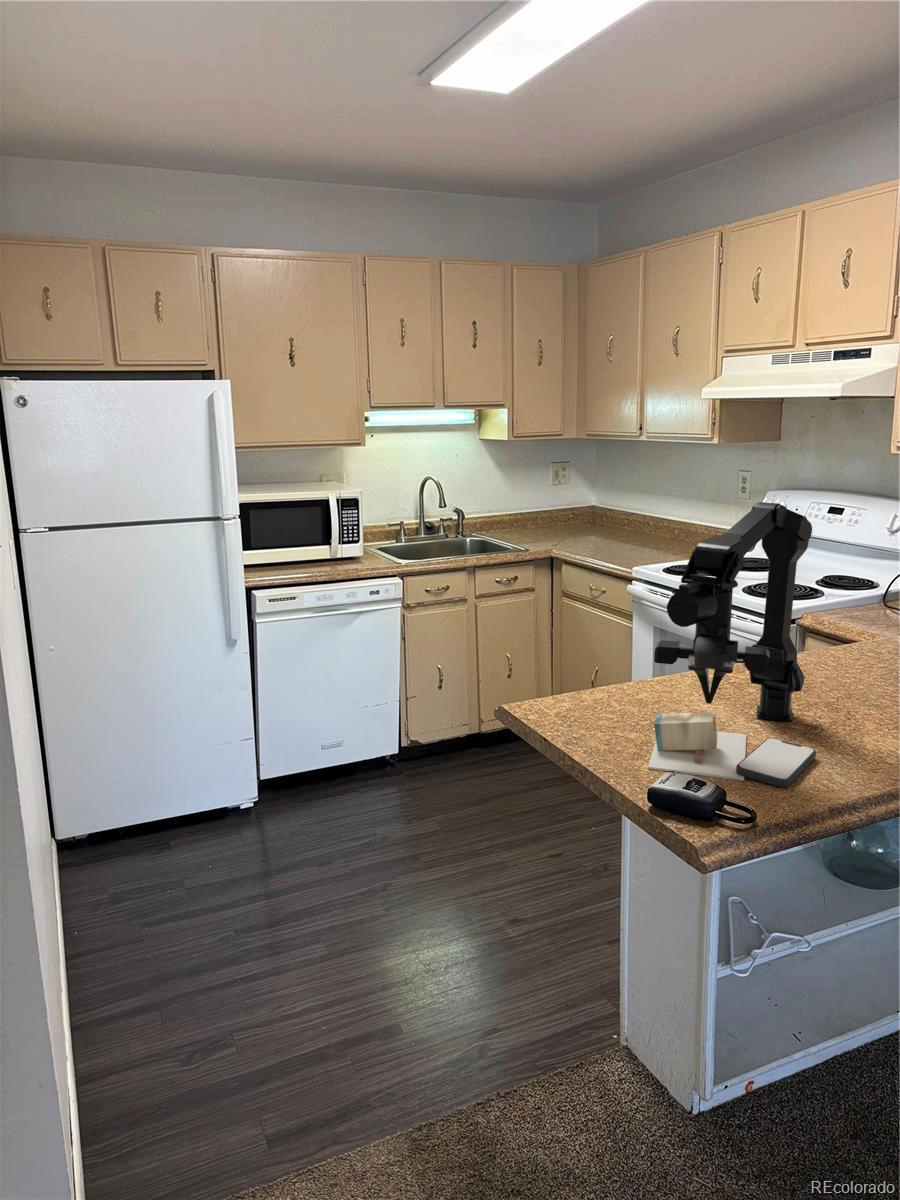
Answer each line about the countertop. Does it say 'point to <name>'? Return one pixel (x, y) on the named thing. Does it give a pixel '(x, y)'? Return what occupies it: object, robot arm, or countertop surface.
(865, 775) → the countertop surface
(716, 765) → the grey mat
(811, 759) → the phone case
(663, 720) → the birch block
